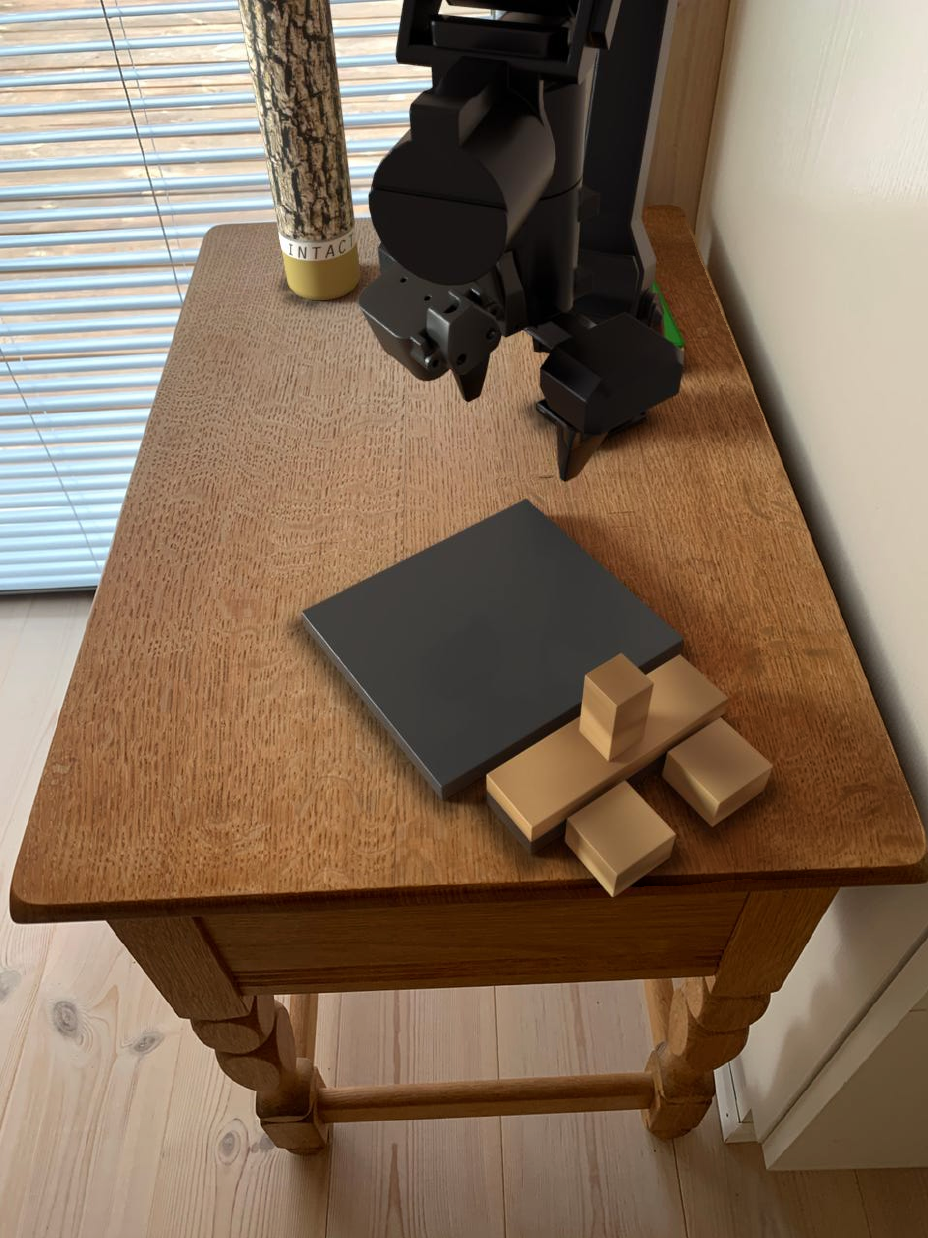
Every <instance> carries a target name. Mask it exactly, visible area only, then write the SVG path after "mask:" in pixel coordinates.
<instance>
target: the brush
mask: <svg viewBox="0 0 928 1238" xmlns="http://www.w3.org/2000/svg"><path fill="white" fill-rule="evenodd" d="M728 703H729V697H728V695H726V694H725V693H724V692H723V691H722V690H721V689H720V688H719V687H717V686H716V685H715V684H714V683H713V682H712V681H711V680H710V679H709V678H707V677H706V675H704V674H703V673H702V672H701V671H699V670H698V669H697V668H696V667H695V666H694V665H693V664H692V663H691V662H689V660H687V659H686V658H685V657H684V656H683V655H682V654H679V655H678V656H676V657H674V658H673V659H671V660H670V661H668V662H666V663H665V664H663V665H662V666H660V667H658V668H657V669H655V670H654V671H652V672H650V673H649V674H647V675H645V674H644V673H643V672H641V671H640V670H639V669H638V668H637V667H636V666H635V665H634V664H633V663H632V662H631V661H630V660H629V659H628V658H627V657H626V656H624V655H623V654H622V653H621V654H619V655H617V656H616V657H614V658H612V659H611V660H609V661H608V662H606V663H604V664H603V665H601V666H599V667H598V668H596V669H594V670H593V671H591V672H589V673H588V674H586V675H585V680H584V690H583V699H582V708H581V716H580V717H578V718H577V719H575V720H573V721H572V722H570V723H569V724H567V725H565V726H564V727H562V728H561V729H559V730H557V731H556V732H554V733H552V734H551V735H549V736H548V737H546V738H544V739H543V740H541V741H540V742H538V743H536V744H535V745H533V746H531V747H530V748H528V749H527V750H525V751H523V752H522V753H520V754H519V755H517V756H515V757H514V758H512V759H510V760H509V761H507V762H506V763H504V764H502V765H501V766H499V767H498V768H496V769H494V770H493V771H491V772H489V773H488V774H486V805H488V807H489V808H490V809H491V810H492V811H493V813H494V814H495V815H496V816H497V818H498V819H499V820H500V821H501V822H502V824H503V825H504V826H505V827H506V828H507V829H508V831H509V832H510V833H511V835H513V837H514V838H515V839H516V841H517V842H518V843H519V844H520V845H521V847H522V848H523V849H524V850H525V851H526V853H527V854H528V855H529V856H530V857H531V856H533V855H535V854H536V853H538V852H539V851H540V850H542V849H543V848H545V847H547V846H548V845H550V844H551V843H553V842H554V841H555V840H557V839H558V838H560V837H561V836H563V835H564V834H566V824H567V818H569V817H570V816H572V815H573V814H575V813H576V812H578V811H579V810H581V809H582V808H584V807H585V806H587V805H588V804H590V803H591V802H593V801H594V800H596V799H597V798H599V797H600V796H602V795H603V794H605V793H606V792H608V791H609V790H611V789H612V788H614V787H615V786H617V785H618V784H620V783H621V782H623V781H626V782H627V783H628V784H629V785H630V786H631V787H632V788H634V787H636V786H637V785H639V784H640V783H641V782H643V781H645V780H646V779H647V778H649V777H650V776H651V775H653V774H654V773H656V772H658V771H660V770H661V769H662V768H664V765H665V761H666V756H667V752H668V751H670V750H671V749H673V748H674V747H676V746H677V745H679V744H680V743H682V742H683V741H685V740H686V739H688V738H689V737H691V736H692V735H694V734H695V733H697V732H698V731H700V730H701V729H703V728H704V727H706V726H707V725H709V724H710V723H712V722H713V721H715V720H716V719H718V718H719V717H721V718H722V719H723V720H724V717H725V713H726V710H727V706H728Z"/></svg>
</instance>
